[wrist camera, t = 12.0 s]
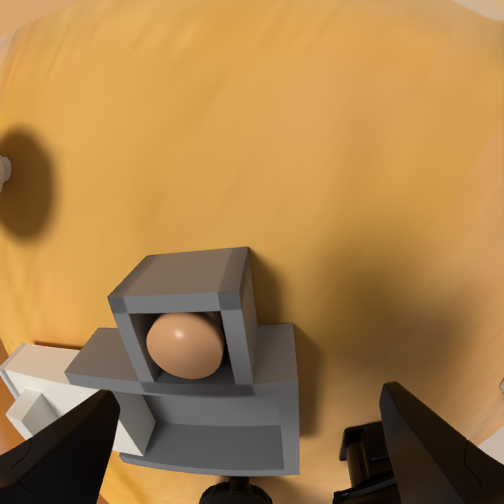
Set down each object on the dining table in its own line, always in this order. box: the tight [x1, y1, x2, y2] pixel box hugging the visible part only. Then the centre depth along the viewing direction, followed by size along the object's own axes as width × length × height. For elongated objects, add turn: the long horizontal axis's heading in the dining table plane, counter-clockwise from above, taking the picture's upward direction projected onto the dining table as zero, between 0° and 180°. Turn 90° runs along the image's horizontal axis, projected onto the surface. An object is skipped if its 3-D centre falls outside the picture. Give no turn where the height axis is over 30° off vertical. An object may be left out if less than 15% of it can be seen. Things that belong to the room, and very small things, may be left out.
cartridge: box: [0, 343, 156, 456], centre depth 20 cm, size 9×13×8 cm
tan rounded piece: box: [147, 311, 225, 379], centre depth 17 cm, size 4×4×4 cm
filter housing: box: [64, 247, 299, 476], centre depth 20 cm, size 18×16×6 cm
